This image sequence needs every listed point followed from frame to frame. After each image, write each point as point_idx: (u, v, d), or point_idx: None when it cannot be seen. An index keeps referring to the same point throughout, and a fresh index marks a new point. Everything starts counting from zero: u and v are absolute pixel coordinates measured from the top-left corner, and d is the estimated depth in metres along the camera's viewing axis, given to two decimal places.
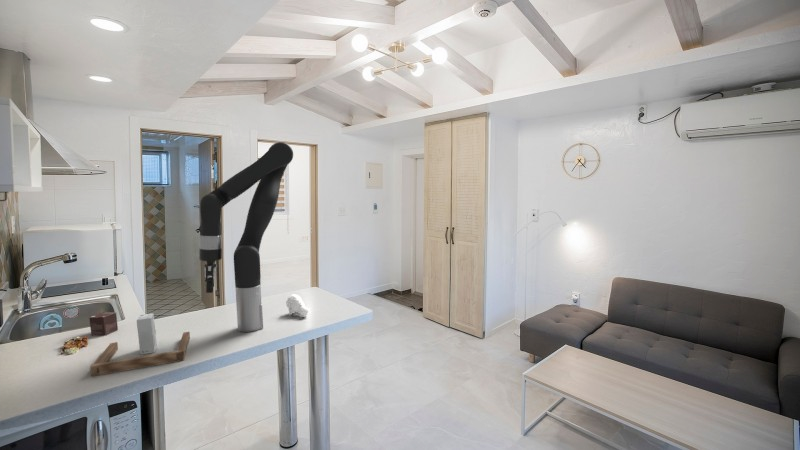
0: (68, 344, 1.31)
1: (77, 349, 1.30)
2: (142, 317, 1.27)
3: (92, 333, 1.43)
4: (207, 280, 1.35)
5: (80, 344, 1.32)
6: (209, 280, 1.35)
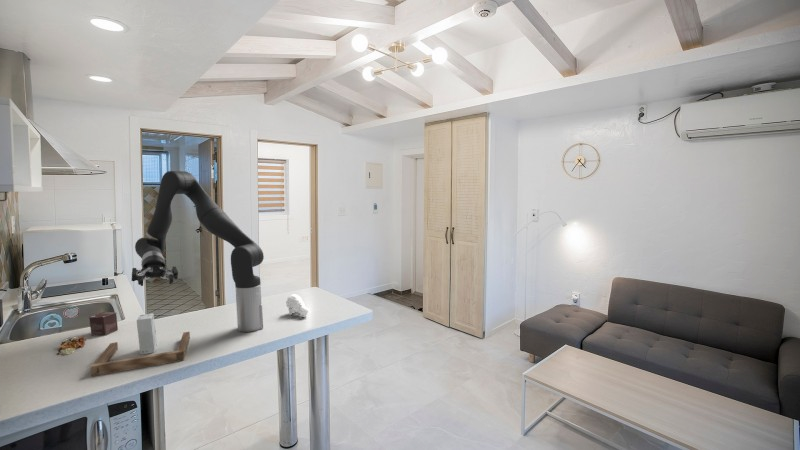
0: (65, 344, 1.31)
1: (73, 350, 1.29)
2: (142, 317, 1.27)
3: (92, 333, 1.43)
4: None
5: (76, 345, 1.31)
6: (132, 277, 1.33)
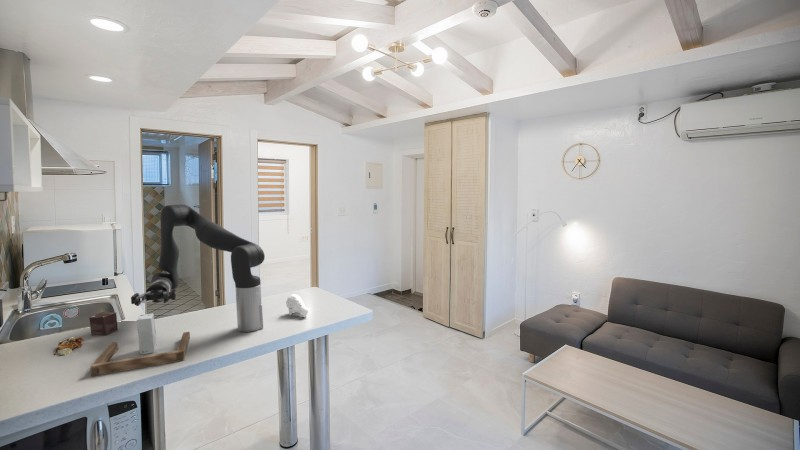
0: (62, 345, 1.31)
1: (70, 350, 1.29)
2: (142, 317, 1.27)
3: (92, 333, 1.43)
4: None
5: (73, 345, 1.31)
6: None
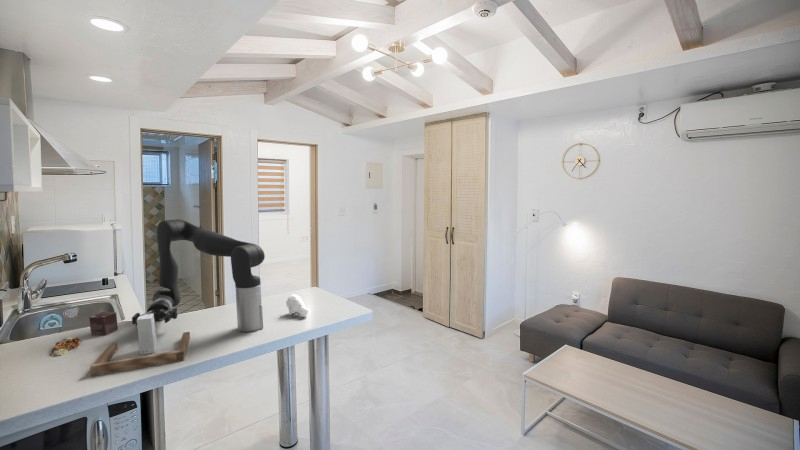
0: (59, 345, 1.31)
1: (66, 350, 1.29)
2: (142, 317, 1.27)
3: (92, 333, 1.43)
4: None
5: (70, 345, 1.31)
6: None
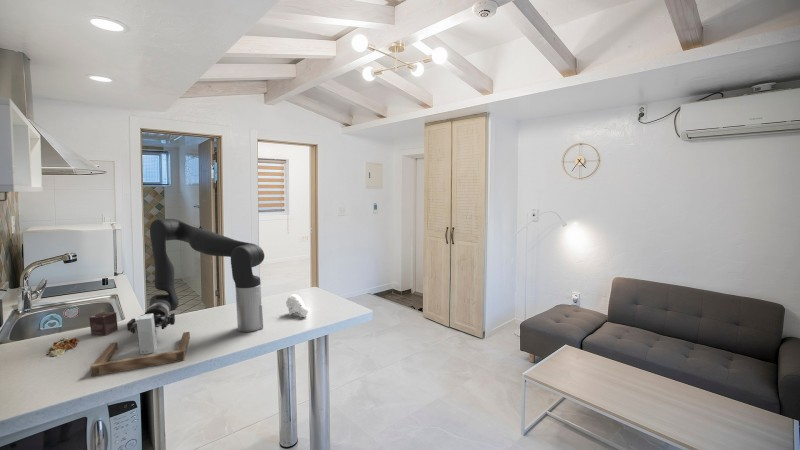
0: (56, 345, 1.31)
1: (63, 351, 1.28)
2: (142, 317, 1.27)
3: (92, 333, 1.43)
4: None
5: (67, 346, 1.30)
6: None
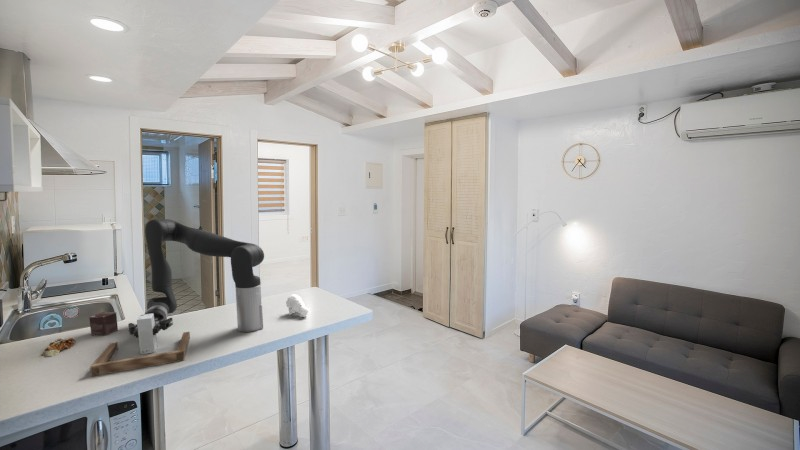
0: (52, 345, 1.30)
1: (57, 351, 1.28)
2: (142, 317, 1.27)
3: (92, 333, 1.43)
4: None
5: (62, 346, 1.30)
6: None
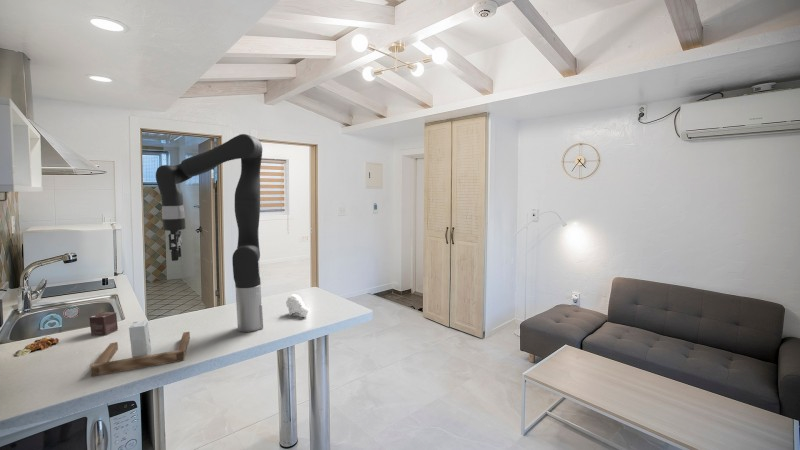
0: (32, 343, 1.32)
1: (28, 352, 1.28)
2: (135, 325, 1.19)
3: (92, 333, 1.43)
4: (171, 248, 1.40)
5: (36, 347, 1.30)
6: (173, 248, 1.40)
